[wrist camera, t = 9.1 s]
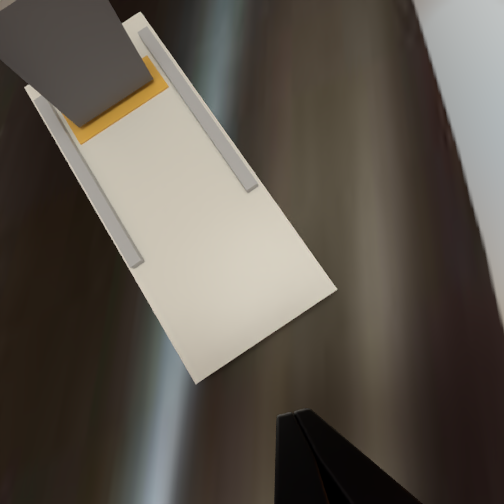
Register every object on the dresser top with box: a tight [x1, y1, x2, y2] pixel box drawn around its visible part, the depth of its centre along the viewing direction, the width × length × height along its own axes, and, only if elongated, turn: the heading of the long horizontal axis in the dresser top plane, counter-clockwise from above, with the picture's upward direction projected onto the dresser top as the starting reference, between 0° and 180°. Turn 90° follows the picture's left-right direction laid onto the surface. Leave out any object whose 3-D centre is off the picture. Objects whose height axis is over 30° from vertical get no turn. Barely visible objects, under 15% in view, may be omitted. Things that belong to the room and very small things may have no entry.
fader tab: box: [0, 0, 153, 128], centre depth 18 cm, size 2×6×9 cm, turn 123°
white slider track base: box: [24, 12, 337, 384], centre depth 23 cm, size 24×10×3 cm, turn 33°
